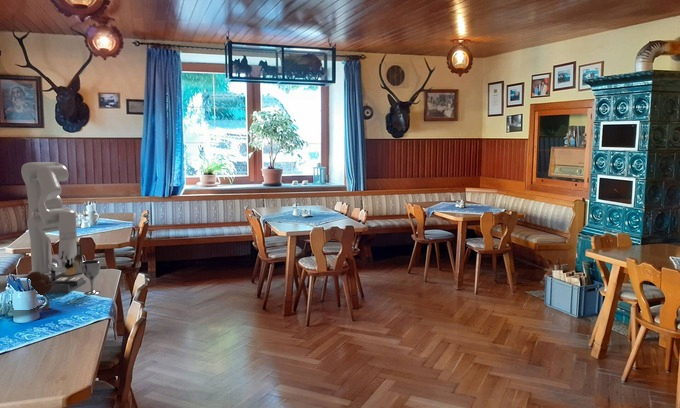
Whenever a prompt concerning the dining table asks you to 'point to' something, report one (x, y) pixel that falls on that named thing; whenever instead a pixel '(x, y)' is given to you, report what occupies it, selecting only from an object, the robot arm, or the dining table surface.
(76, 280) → the label
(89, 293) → the wine glass
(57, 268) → the swing arm
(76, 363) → the dining table surface
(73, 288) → the psu chassis
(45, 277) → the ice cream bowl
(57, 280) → the label
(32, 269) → the robot arm
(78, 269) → the coffee box
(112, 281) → the dining table surface
